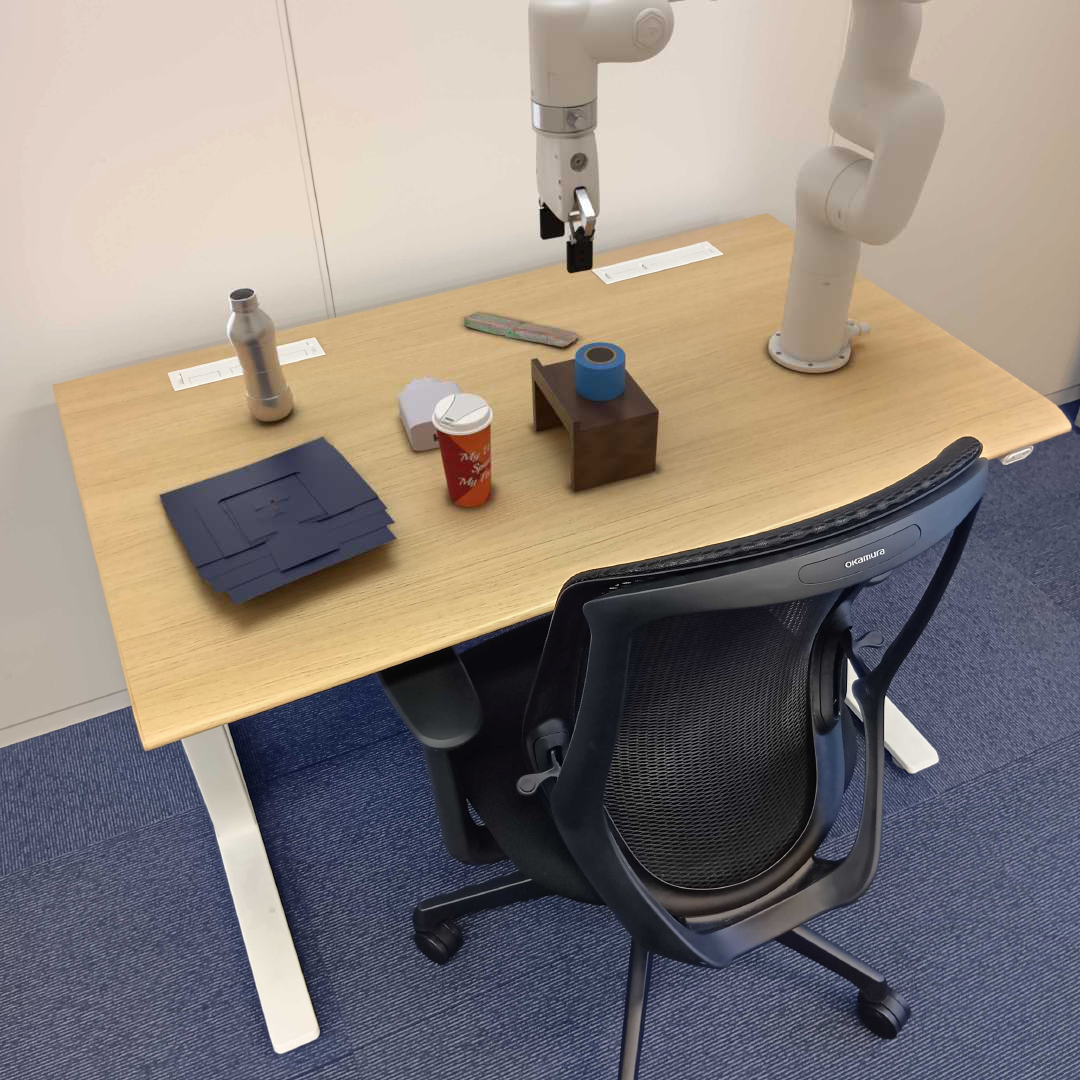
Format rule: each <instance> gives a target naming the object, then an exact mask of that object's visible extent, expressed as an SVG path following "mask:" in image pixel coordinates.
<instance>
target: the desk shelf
mask: <svg viewBox="0 0 1080 1080" xmlns="http://www.w3.org/2000/svg"><path fill="white" fill-rule="evenodd" d="M530 372H531V373H530V375H531V397H532V418H533V428H534V430H535V431H536V432H540V431H544V430H549V429H553V428H555V427H556V428H557V427H561V426H564V428H565V429H566V431H567V432H568V434H569V435H570V441H569V442H570V443H569V444H570V446H569V447H570V487H571V489H572V491H573V492H574V493H575V492H580V491H584V490H586V489H591V488H595V487H599V486H602V485H606V484H611V483H614V482H618V481H622V480H626V479H629V478H634V477H637V476H640V475H645V474H648V473H653V472H655V471H656V467H657V466H656V465H657V449H658V448H657V447H658V432H659V418H660V417H659V416H660V410H659V409H658V408H657V407H656V405H655V404H654V402H653V401H652V400H651V398H649V396H648V395H647V394H646V393H645V391H644V390H643V389H642V388H641V386H640V385H639V384H638V383H637V382H636V380H635V379H634V377H633V376H632V375H631V374H630V372H629V371H628V370H627V369H626V368H625V387H624V391H623V393H622V394H621V395H620V396H618V397H617V398H614V399H612V400H608V401H592V400H588V399H585V398H583V397H582V396H580V395H579V394H578V393H577V391H576V387H575V358H573V359H572V358H571V359H567V360H562V361H558V362H554V363H549V364H546V365H543V364H542V363H541V361H540V360H539V358H538V357H535V358H531V359H530Z"/></svg>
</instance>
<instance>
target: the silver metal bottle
mask: <svg viewBox="0 0 1080 1080" xmlns="http://www.w3.org/2000/svg"><path fill="white" fill-rule="evenodd" d="M228 301H229V308H230V311H231V312H232V313H231V315H230V316H229V319H228V323H227V325H226V334H227V335H226V336H227V337H228V340H229V342H230V344H231V346H232V348H233V351H234V353H235V354H236V357H237V360H238V362H239V366H240V368H241V371H242V374H243V380H244V384H245V385H244V386H245V389H246V391H245V392H246V393H245V394H246V402H247V403H246V404H247V407H248V409H249V411H250V413H251V415H252V416H253V417H254V418H256V419H257V420H258V421H261V422H266V423H267V422H268V423H270V422H271V423H272V422H276V421H280V420H282V419H284V418H286V417H287V416H288V415H289V414H290V413H291V411H292V409H293V407H294V395H293V393H292V390H291V387H290V386H289V383H288V382H287V380H286V377H285V375H284V372H283V369H282V366H281V363H280V362H281V361H280V358H279V353H278V348H277V339H276V338H277V335H276V327H275V324H274V321H273V319H272V318H271V316H270V315H269V314H268V313H267V312H266V311H265V310H263V309H262V308H260V307H259V306H260V302H259V301H260V300H259V298H258V296H257V292H256V290H255V289H254V288H251V287H240V288H236V289H234V290H232V291H231V292H230V293H229V294H228Z"/></svg>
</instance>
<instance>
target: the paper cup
mask: <svg viewBox="0 0 1080 1080" xmlns="http://www.w3.org/2000/svg"><path fill="white" fill-rule="evenodd" d="M493 418H494V413H493V410H492V408H491V407H490V406H489V405H488V403H487V402H486V399H484V398H483V397H481V396H479V395H476V394H472V393H463V394H454V395H450V396H448V397H445V398H444V399H442V400H441V401H439V402H438V404H437V405H436V407H435V411H434V413H433V415H432V422H433V425H434V426H435V427H436V430H437V435H438V441H439V446H440V447H439V449H440V455H441V460H442V467H443V471H444V476H445V480H446V485H447V486H446V487H447V490H448V495H449V498H450V500H451V502H453V504H455V505H457V506H459V507H463V508H474V507H479V506H481V505H483V504H485V503H486V502H488V500H489V499H490V498H491V496H492V495H491V494H492V434H491V433H492V432H491V431H492V428H491V427H492V426H491V423H492V422H493Z"/></svg>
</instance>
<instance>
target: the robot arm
mask: <svg viewBox="0 0 1080 1080" xmlns="http://www.w3.org/2000/svg"><path fill="white" fill-rule="evenodd" d="M681 1H684V0H530V1H529V4H528V8H527V9H528V10H527V22H528V23H527V26H528V52H529V54H528V55H529V81H530V114H531V115H530V116H531V118H530V119H531V129H532V131H533V132H534V133H536V139H535V140H536V142H535V143H536V144H535V175H536V186H537V192H538V195H539V197H538V205H539V209H538V210H539V237H540V238H541V240H543V241H546V240H551V239H557V238H562V237H564V236H565V235H566V231H567V235H568V239H569V240H567V241H566V244H565V245H566V271H567V272H568V274H576V273H581V272H587V271H591V270H592V269H593V267H594V240H595V233H596V228H595V227H596V223H597V217H599V215H600V211H601V203H600V202H601V201H600V200H601V199H600V175H599V174H600V171H599V170H600V169H599V157H598V156H599V155H598V149H597V148H598V147H597V146H598V145H597V138H596V133H595V132H594V131H595V130H596V129H597V128H598V83H599V82H598V78H599V77H598V75H599V71H598V70H599V64H603V63H604V64H605V63H609V64H610V63H614V64H615V63H619V64H623V63H625V64H628V63H641V62H644V61H648V60H650V59H652V58H655V57H656V56H657V55H658V54H660V53H662V51H663V50H664V49H665V48H666V46H667V45H668V44H669V42H670V40H671V38H672V35H673V34H674V33H673V32H674V29H675V15H674V10H673V8H672V5H671V3H674V2H675V3H676V2H681ZM712 1H714V2H715V1H716V0H711V2H712ZM930 1H931V0H851V5H852V24H851V29H850V32H849V37H848V40H847V44H846V48H845V52H844V54H843V59H842V61H841V65H840V69H839V72H838V75H837V79H836V82H835V85H834V89H833V92H832V95H831V100H830V104H829V109H828V122H829V125H830V127H831V129H832V130H833V131H834V132H835V133H836V134H837V135H838V136H840V137H842V138H843V139H845V140H847V141H848V142H851V143H853V144H854V145H856V146H859V147H861V148H863V149H864V150H866V151H868V152H871V153H873V157H872V158H870V157H867V156H866V155H863V154H861V153H859V152H857V151H855V150H853V149H850V148H847V147H844V146H840V145H839V146H838V145H829V146H828V145H827V146H824V147H821V148H818V149H817V150H815V151H813V152H812V153H811V154H810V155H808V157H806V159H805V161H803V163H802V164H801V166H800V169H799V171H798V174H797V177H796V182H795V192H794V199H795V234H794V241H793V243H794V244H793V249H792V256H791V262H790V269H789V276H788V281H787V288H786V293H785V302H784V308H783V315H782V320H781V326H780V327H781V328H780V330H778V331H776V332H775V333H773V334H772V335H771V337H770V338H769V341H768V346H767V349H768V353H769V355H770V357H771V358H772V359H773V360H774V361H775V362H776V363H777V364H779V365H781V366H783V367H784V368H787V369H789V370H793V371H795V372H800V373H807V374H820V373H828V372H832V371H835V370H838V369H840V368H842V367H844V366H845V365H846V364H847V363H848V362H849V360H850V357H851V353H852V349H851V345H850V343H849V341H852V340H853V339H854V338H855V337H860V336H865V335H869V334H870V333H871V325H870V323H869V322H867V321H864V322H858V323H856V324H855V321H854V319H853V318H852V317H848V315H849V311H850V306H851V301H852V296H853V291H854V287H855V281H856V276H857V272H858V266H859V263H860V257H861V250H862V243H863V244H864V245H865V244H866V245H869V246H875V247H876V246H877V247H878V246H883V245H884V246H885V245H886V244H889V243H890V242H892V241H894V240H895V239H896V238H898V236H900V235H901V234H902V232H903V231H904V230H905V228H906V227H907V225H908V224H909V223H910V220H911V219H912V216H913V214H914V212H915V210H916V208H917V204H918V203H919V199H920V197H921V194H922V192H923V189H924V187H925V183H926V181H927V178H928V175H929V173H930V170H931V167H932V164H933V161H934V159H935V156H936V154H937V151H938V147H939V146H940V142H941V139H942V136H943V132H944V129H945V121H946V114H945V112H946V111H945V104H944V101H943V100H942V97H941V96H940V94H939V92H938V91H936V90H935V89H934V88H933V87H931V86H930V85H928V84H926V83H924V82H922V81H918V80H916V79H913V78H912V77H911V76H910V73H911V67H912V63H913V60H914V56H915V53H916V49H917V46H918V43H919V39H920V35H921V32H922V24H923V5H922V4H925V3H928V2H930ZM574 212H579V213H577V214H571V213H574ZM579 222H580V224H581V225H578V227H577V228H576V230H575V225H574V224H575V223H579Z"/></svg>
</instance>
